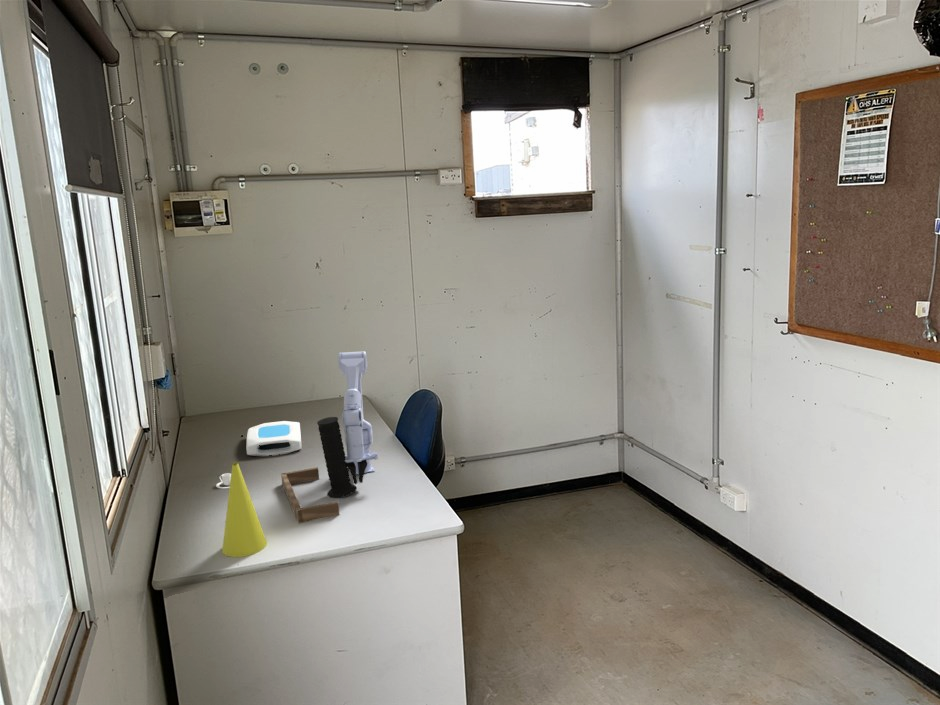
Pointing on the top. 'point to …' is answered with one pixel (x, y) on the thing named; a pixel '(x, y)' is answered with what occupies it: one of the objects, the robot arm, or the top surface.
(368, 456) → the robot arm
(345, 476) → the handle grip
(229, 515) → the cone
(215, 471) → the top surface
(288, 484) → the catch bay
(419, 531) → the top surface
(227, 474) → the teacup and saucer
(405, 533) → the top surface
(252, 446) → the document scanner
